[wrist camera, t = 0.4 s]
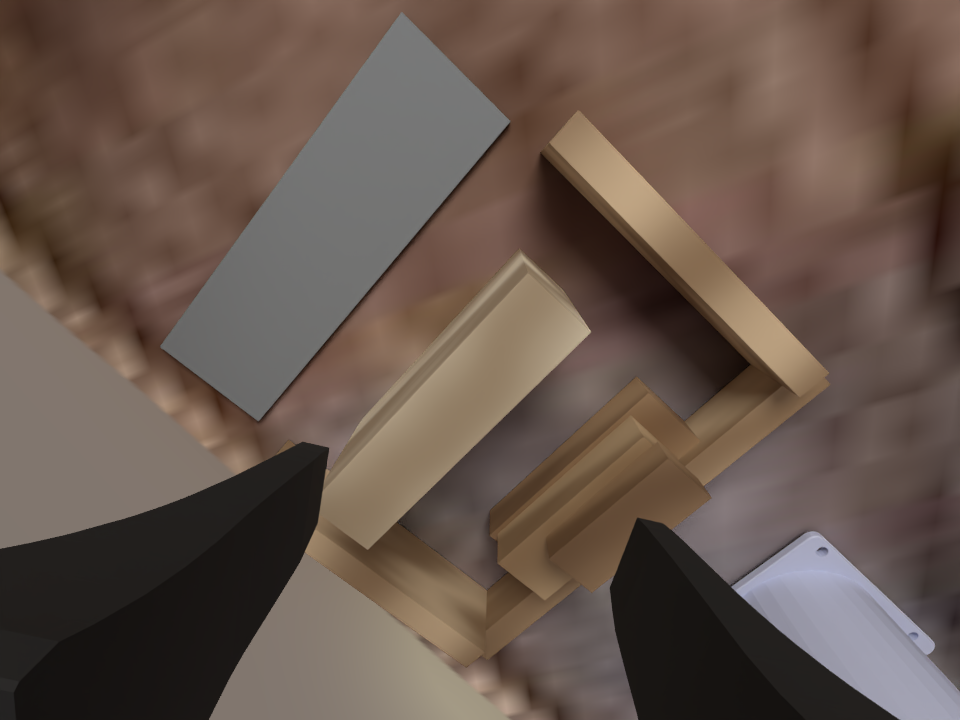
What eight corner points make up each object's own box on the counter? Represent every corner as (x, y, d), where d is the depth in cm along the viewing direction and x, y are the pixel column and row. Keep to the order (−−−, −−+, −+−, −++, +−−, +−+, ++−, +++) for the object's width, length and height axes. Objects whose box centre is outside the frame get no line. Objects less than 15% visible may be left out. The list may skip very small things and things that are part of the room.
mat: (510, 122, 18) (510, 121, 18) (260, 418, 22) (258, 421, 22) (403, 14, 17) (401, 11, 17) (163, 345, 21) (159, 346, 21)
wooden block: (562, 289, 20) (591, 332, 14) (403, 452, 22) (367, 549, 16) (519, 247, 19) (528, 272, 13) (362, 419, 22) (308, 506, 16)
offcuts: (684, 421, 21) (734, 482, 17) (536, 547, 24) (545, 631, 19) (636, 376, 21) (675, 427, 16) (490, 510, 23) (487, 587, 19)
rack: (793, 363, 20) (850, 396, 17) (488, 617, 25) (486, 682, 22) (563, 125, 18) (578, 109, 15) (273, 457, 23) (234, 502, 19)
